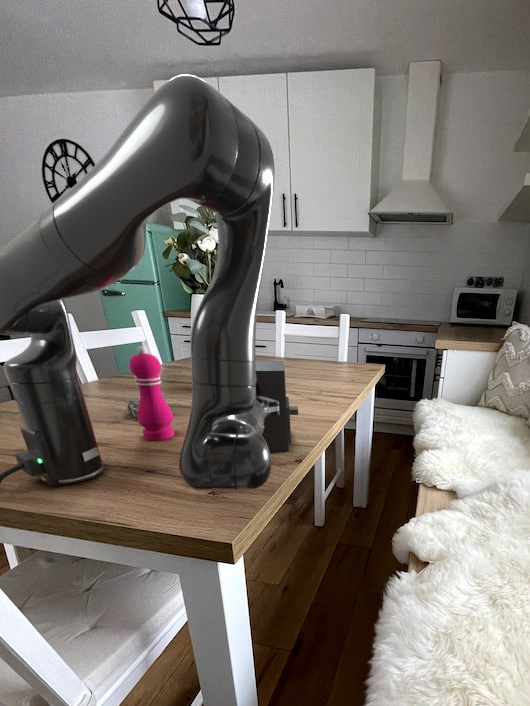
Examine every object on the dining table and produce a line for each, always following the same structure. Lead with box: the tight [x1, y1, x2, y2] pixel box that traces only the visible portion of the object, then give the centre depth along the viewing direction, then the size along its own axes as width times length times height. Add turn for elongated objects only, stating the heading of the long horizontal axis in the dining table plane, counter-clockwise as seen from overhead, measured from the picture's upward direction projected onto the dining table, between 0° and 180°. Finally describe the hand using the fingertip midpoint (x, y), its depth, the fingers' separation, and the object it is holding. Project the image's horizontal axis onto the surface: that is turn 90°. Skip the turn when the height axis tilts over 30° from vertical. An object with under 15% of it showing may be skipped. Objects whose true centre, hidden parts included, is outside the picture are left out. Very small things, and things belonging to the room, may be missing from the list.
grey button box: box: [255, 360, 299, 453], centre depth 86 cm, size 18×13×17 cm
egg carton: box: [123, 398, 140, 418], centre depth 106 cm, size 11×8×4 cm
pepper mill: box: [128, 345, 175, 441], centre depth 87 cm, size 7×7×20 cm
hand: (247, 397), depth 78 cm, fingers closed
